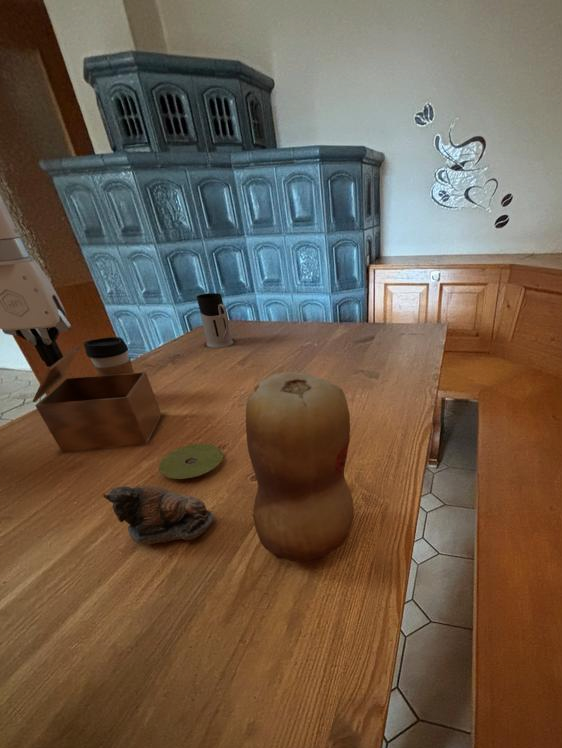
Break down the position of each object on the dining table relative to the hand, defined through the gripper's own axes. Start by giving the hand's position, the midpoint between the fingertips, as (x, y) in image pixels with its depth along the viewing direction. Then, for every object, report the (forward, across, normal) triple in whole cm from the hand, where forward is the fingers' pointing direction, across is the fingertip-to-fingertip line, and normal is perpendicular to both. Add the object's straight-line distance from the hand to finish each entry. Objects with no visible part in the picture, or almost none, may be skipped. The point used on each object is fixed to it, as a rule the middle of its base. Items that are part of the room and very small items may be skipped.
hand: (55, 363), depth 73 cm
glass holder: (+16, +22, +55) cm, 61 cm away
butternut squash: (+16, +44, -40) cm, 61 cm away
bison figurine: (+16, +24, -35) cm, 45 cm away
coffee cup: (+16, +3, +16) cm, 23 cm away
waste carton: (+16, +5, 0) cm, 16 cm away
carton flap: (+2, 0, 0) cm, 2 cm away
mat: (+16, +24, -17) cm, 33 cm away
